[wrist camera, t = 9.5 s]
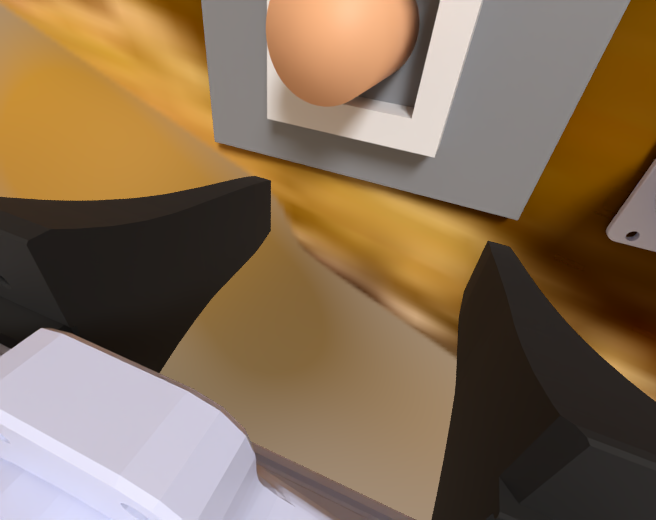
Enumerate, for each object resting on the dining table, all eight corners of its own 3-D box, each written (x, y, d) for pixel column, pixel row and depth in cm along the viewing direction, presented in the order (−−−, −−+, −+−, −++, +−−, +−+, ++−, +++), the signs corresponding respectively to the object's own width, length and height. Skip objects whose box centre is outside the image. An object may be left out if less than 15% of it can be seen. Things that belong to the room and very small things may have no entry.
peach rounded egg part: (430, -24, 14) (399, -41, 9) (407, 86, 16) (372, 117, 12) (336, -35, 15) (264, -54, 10) (327, 72, 17) (266, 95, 13)
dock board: (732, -219, 10) (803, -288, 8) (516, 211, 18) (520, 240, 16) (196, -213, 14) (138, -257, 12) (224, 137, 22) (194, 151, 20)
